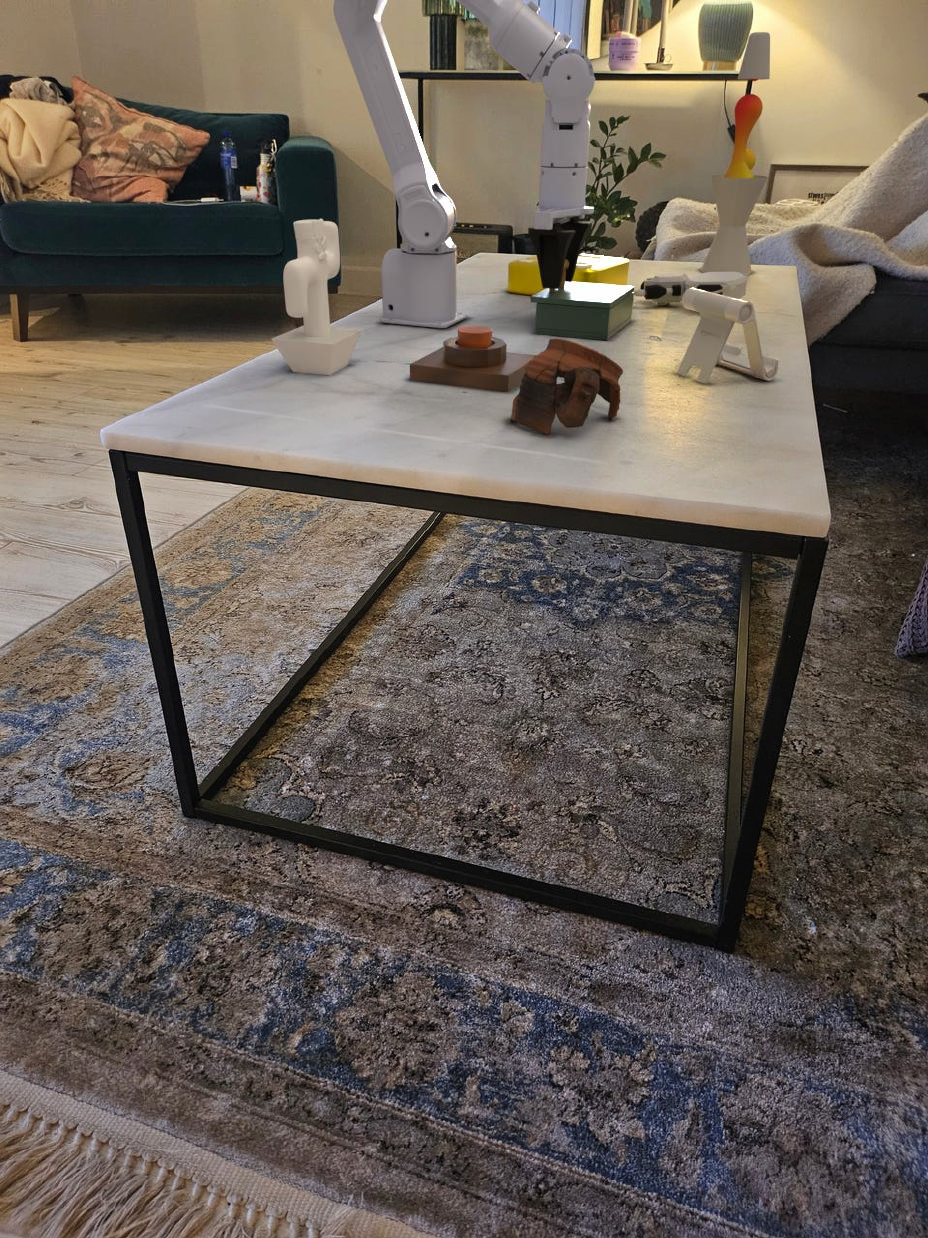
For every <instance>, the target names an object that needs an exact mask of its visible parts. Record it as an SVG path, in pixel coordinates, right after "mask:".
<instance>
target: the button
mask: <svg viewBox="0 0 928 1238" xmlns="http://www.w3.org/2000/svg"><path fill="white" fill-rule="evenodd" d="M457 337H458V345H460V346H464V347H486V346H491V345H492V337H493V328H492V327H489V326H484V325H463V326H460V327H459V328H457Z"/></svg>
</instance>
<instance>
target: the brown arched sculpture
mask: <svg viewBox="0 0 928 1238" xmlns="http://www.w3.org/2000/svg"><path fill="white" fill-rule="evenodd" d="M525 371H526V373H525V374H524V376H523V378H522V380H521V383H520V384H519V392H518V394H516V395H515V397H514V398H513V400H512V408H511V415H510V418H509V419H510V421H514V422H517V423H519V424H520V425H521V426H524V427H526V428H529V429H532V430H534V431H537V432H539V433H542V434H545V435H546V436H548V435H550V434H551V429H552V425H553V423H554V421H555V418H556V417H557V419H558V420H559V422H560V424H562V426H564V427H565V428H567V429H573V428H580V427H583V426H584V424H585V422H586V420H587V419H588V416H589V412H590V409H591V406H592V405H593V403H594V402H595V400H596V398H597V395H598V396H599V397H601V398H602V399H603V400H604V401H606V402H607V403H608V404H609V406H608V413H607V417H608V419H609V420H612V419H614V418H616V417H618V416H617V415H618V411H619V410H620V404H621V385H620V384H619V380H620V378H621V377H622V375H623V374H624V370H623V368H622V367H621V366H620V365H619V364H618V363H617V362H615V361H614V360H612V359H611V358H610V357H608V356H607V355H605V354H603V353H600V352H599V351H597V350H595V349H594V348H591V347H589V346H586V345H584V344H581V343H578V342H575V341H572V340H569V339H568V340H567V339H563V338H556V337H555V338H550V339H549V340H548V343H547V346H546V349H545V350H543V351H540V352H539V353H538V354H536V356H535V357H534V358H533V359H532V360H530V361H529V363H528V365H527V366H526V367H525ZM558 378H561V379H563V382H561V383H557V382H558Z"/></svg>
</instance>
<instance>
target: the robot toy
mask: <svg viewBox="0 0 928 1238" xmlns="http://www.w3.org/2000/svg"><path fill="white" fill-rule="evenodd" d="M749 275H751V274H750V273H745V274H742V273H739V272H706V273H704V272H700V273H697V274H694V275H691V276H688V275H687V273H685V272H663V273H657V274H655V275H654V276H653V277H648V278H646V279H644V280H643V282H642V283H641V284H640V287H639V289H634V296H635V297H640V298H641V297H643V298H644V299H645V300H646V301H649V300H652V301H653V302H654V303H656V304H657V305H658V306H668V303H680V302H682V297H683V294H684V292H685V291H686V290H687V289H689V288H695V289H699V290H703V291H707V292H711V293H715V294H719V295H723V296H727V297H731V298H735V299H740V300H742V299H743V297H745V296H746V294H747V283H748V282H747V281H748V279H747V277H748V276H749Z"/></svg>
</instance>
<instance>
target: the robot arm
mask: <svg viewBox="0 0 928 1238" xmlns="http://www.w3.org/2000/svg"><path fill="white" fill-rule="evenodd" d="M455 1H456V2H457V3H458V4H459V5H461V6H462V7H463V8H464V9H465V10H466V11H468V12H469V13H470V14H471V15H472V16H473V17H475V18H476V19H477V20H478V21H479V22H481V23H482V24H483V25H484V26H486V28H487V32H488V41H489V46H490V48H491V49H492V50H493V51H494V52H495V53H496V54H497V55H499V56H500V57H501V58H502V59H503V60H505V61H506V62H507V63H508V64H509V65H510V66H511V67H512V68H514V69H515V70H516V71H517V72H518V73H519V74H521V75H522V76H523V77H525V79H526V80H527V81H529V82H530V83H531V84H536V83H541V85H542V89H543V93H544V94H545V96H546V98H547V99H545V105H544V106H545V107H544V121H543V122H542V124H541V143H540V144H541V145H540V148H541V149H540V163H539V164H540V166H539V185H538V186H539V188H538V205H537V206H536V210H535V211H534V225H532V226H528V228H527V235H528V237H529V239H530V241H531V243H532V246H533V248H534V252H535V255H537V260H538V265H539V271H540V278H541V283H542V287H543V288H551V289H558V288H559V287H560V284H561V280H562V275H563V270H564V263H565V259H567V260H568V261H569V267H568V269H566V279H565V282H572V279H573V276H574V273H575V269H576V265H577V261H578V258H579V254H581V251H582V248H583V245H584V242H585V240H586V238H587V236H588V234H589V232H590V231H591V229H592V223H593V222H592V221H585V220H583V219H585V216H586V215H592V214H594V213H595V207H594V206H586V203H587V202H586V194H587V180H588V179H587V178H588V166H589V165H588V163H589V151H590V147H589V146H590V136H591V123H590V121H589V118H590V116H591V107H592V106H591V104H590V99H588V98H589V97H590V95H591V93H592V92H593V89H594V87H595V84H596V77H595V71H594V67H593V64H592V62H591V60H590V58H589V57H588V56H587V55H586V54H585V53H584V52H583V51H581V50H579V49H576V48H568V47H569V45H570V44H571V43H572V41H573V37H572V36H571V35H570V34H568V33H567V32H565V33H564V34H562V33H560V32H559V31H558V30H557V29H556V28H555V27H554V26H552V25H551V23H549V22H548V21H547V20H546V19H545V18H543V16H541V14H539V12H540V10H541V8H540V6H539V5H538V4H537V3H536V2H535V1H534V0H530V1H528V3H527V2H526V1H525V0H455ZM387 2H388V0H333V6H332V7H333V9H332V11H333V17H334V20H335V23H336V26H337V28H338V31H339V34H340V37H341V40H342V42H343V45H344V48H345V50H346V53H347V56H348V58H349V62H350V64H351V67H352V69H353V73H354V75H355V79H356V80H357V83H358V86H359V89H360V93H361V94H362V98H363V100H364V103H365V105H366V106H365V107H366V109H367V111H368V114H369V117H370V119H371V122H372V124H373V127H374V130H375V132H376V136H377V139H378V141H379V144H380V146H381V149H382V152H383V155H384V158H385V160H386V163H387V166H388V168H389V171H390V174H391V178H392V186H393V195H394V198H395V201H396V202H397V207H398V218H397V227H398V231H399V233H400V236H401V238H402V240H404V242H401V244H400V248H390V249H388V250H387V251H386V252H385V254H384V255H383V258H382V262H381V270H380V271H381V272H380V277H381V280H380V282H381V303H382V317H381V318H380V323H385V324H393V325H394V324H395V325H403V326H405V325H406V326H415V327H426V328H435V329H446V328H448V327H450V326H453V325H454V324H456V323H458V322H461V321H463V320H465V319H467V318H468V317H469V315H468V313H463V312H457V311H458V310H457V303H458V302H457V300H458V299H457V296H458V295H457V289H458V288H457V285H458V284H457V281H458V280H457V279H458V278H457V274H458V273H457V272H458V271H457V267H458V266H457V265H458V264H457V262H458V261H457V259H458V257H457V244H455V243H454V242H453V241H452V238H451V236H450V235H451V234H452V232H453V231H454V229H455V227H456V223H457V209H456V206H455V204H454V201H453V200H452V199H451V197H450V196H449V195H447V193H446V192H445V191H444V190H443V189H442V187H441V185H440V182H439V179H438V177H437V174H436V172H435V171H434V168H433V166H432V165H431V163H430V161H429V159H428V155H427V153H426V149H425V147H424V144H423V141H422V138H421V136H420V133H419V129H418V127H417V123H416V120H415V118H414V115H413V113H412V109H411V107H410V104H409V100H408V97H407V95H406V91H405V89H404V86H403V83H402V80H401V77H400V74H399V72H398V69H397V66H396V62H395V59H394V57H393V55H392V52H391V49H390V45H389V43H388V40H387V36H386V34H385V31H384V28H383V26H382V22H381V18H382V15H383V12H384V10H385V9H386V5H387ZM580 219H582V220H580Z"/></svg>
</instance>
